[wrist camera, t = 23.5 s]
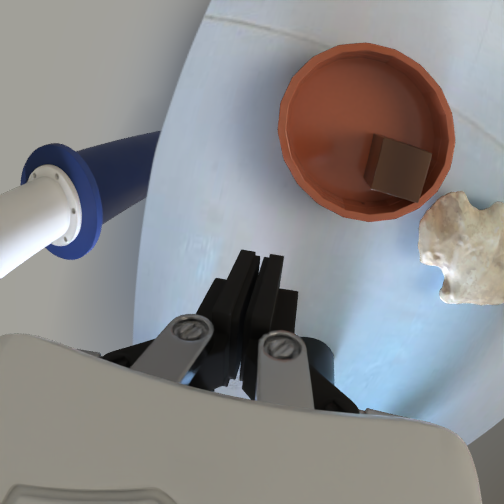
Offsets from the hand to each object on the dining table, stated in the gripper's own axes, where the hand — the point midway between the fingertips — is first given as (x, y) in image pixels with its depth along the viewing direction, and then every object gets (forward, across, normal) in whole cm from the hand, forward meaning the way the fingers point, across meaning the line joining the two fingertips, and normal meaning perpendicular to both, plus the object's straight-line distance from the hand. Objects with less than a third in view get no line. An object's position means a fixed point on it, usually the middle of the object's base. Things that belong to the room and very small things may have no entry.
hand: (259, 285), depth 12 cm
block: (+19, -9, -4) cm, 21 cm away
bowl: (+19, -6, -6) cm, 21 cm away
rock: (+19, -23, +4) cm, 31 cm away
